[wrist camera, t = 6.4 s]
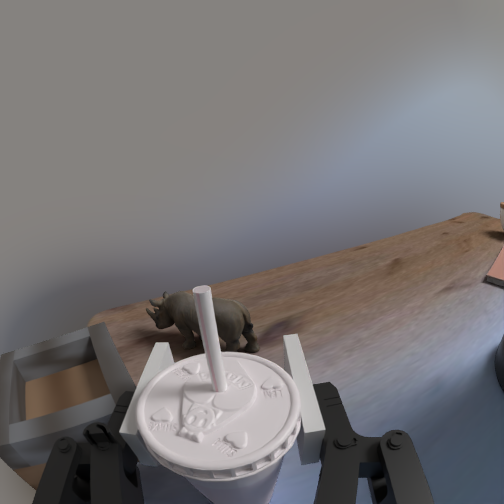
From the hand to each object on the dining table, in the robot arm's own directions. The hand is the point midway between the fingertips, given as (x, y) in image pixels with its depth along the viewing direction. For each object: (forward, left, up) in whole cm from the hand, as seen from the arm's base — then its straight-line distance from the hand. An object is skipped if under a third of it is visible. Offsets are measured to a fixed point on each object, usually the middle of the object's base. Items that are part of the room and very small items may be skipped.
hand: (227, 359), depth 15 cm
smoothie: (+3, +4, -8) cm, 9 cm away
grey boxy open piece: (+11, -8, -7) cm, 16 cm away
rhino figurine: (-4, -13, -8) cm, 16 cm away
